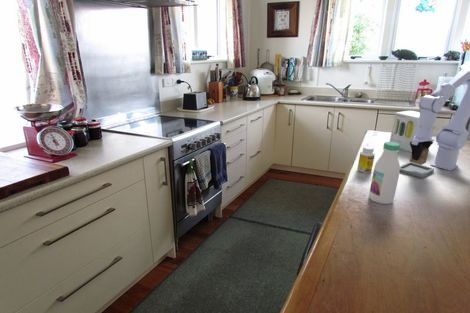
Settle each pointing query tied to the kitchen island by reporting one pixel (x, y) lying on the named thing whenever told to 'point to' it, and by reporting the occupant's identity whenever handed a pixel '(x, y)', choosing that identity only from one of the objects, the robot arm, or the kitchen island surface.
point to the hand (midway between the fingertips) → (417, 158)
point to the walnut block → (421, 157)
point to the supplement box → (404, 128)
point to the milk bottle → (385, 175)
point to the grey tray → (416, 170)
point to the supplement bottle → (366, 159)
